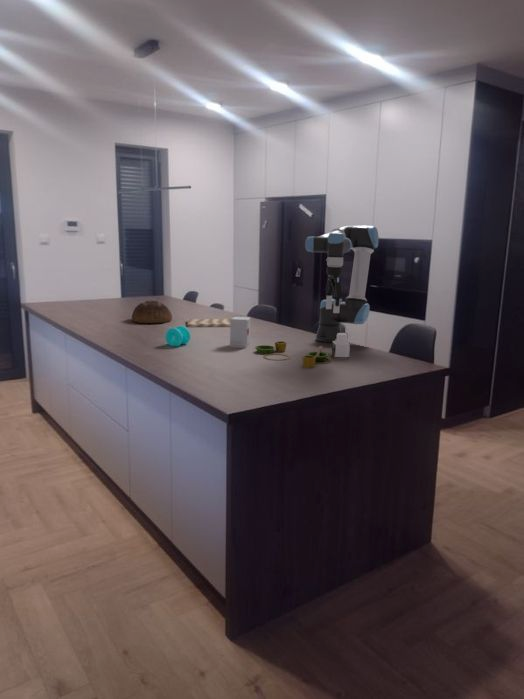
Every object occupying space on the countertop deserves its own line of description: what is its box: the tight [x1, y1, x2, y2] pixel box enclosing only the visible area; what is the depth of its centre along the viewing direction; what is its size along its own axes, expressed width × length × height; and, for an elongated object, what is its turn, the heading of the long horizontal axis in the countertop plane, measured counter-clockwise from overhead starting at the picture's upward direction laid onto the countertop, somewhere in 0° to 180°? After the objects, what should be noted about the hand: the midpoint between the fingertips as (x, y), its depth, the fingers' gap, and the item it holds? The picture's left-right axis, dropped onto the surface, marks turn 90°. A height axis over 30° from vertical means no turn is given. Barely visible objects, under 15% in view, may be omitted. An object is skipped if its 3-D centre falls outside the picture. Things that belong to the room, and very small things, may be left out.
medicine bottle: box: [331, 331, 351, 358], centre depth 261 cm, size 7×7×12 cm
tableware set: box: [255, 340, 332, 368], centre depth 256 cm, size 41×28×6 cm
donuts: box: [165, 325, 191, 347], centre depth 278 cm, size 10×10×10 cm
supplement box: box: [229, 316, 251, 349], centre depth 279 cm, size 9×9×15 cm
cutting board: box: [186, 318, 232, 328], centre depth 344 cm, size 30×20×2 cm, turn 100°
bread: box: [131, 300, 173, 324], centre depth 350 cm, size 26×27×13 cm
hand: (332, 311), depth 258 cm, fingers open, 13 cm apart
